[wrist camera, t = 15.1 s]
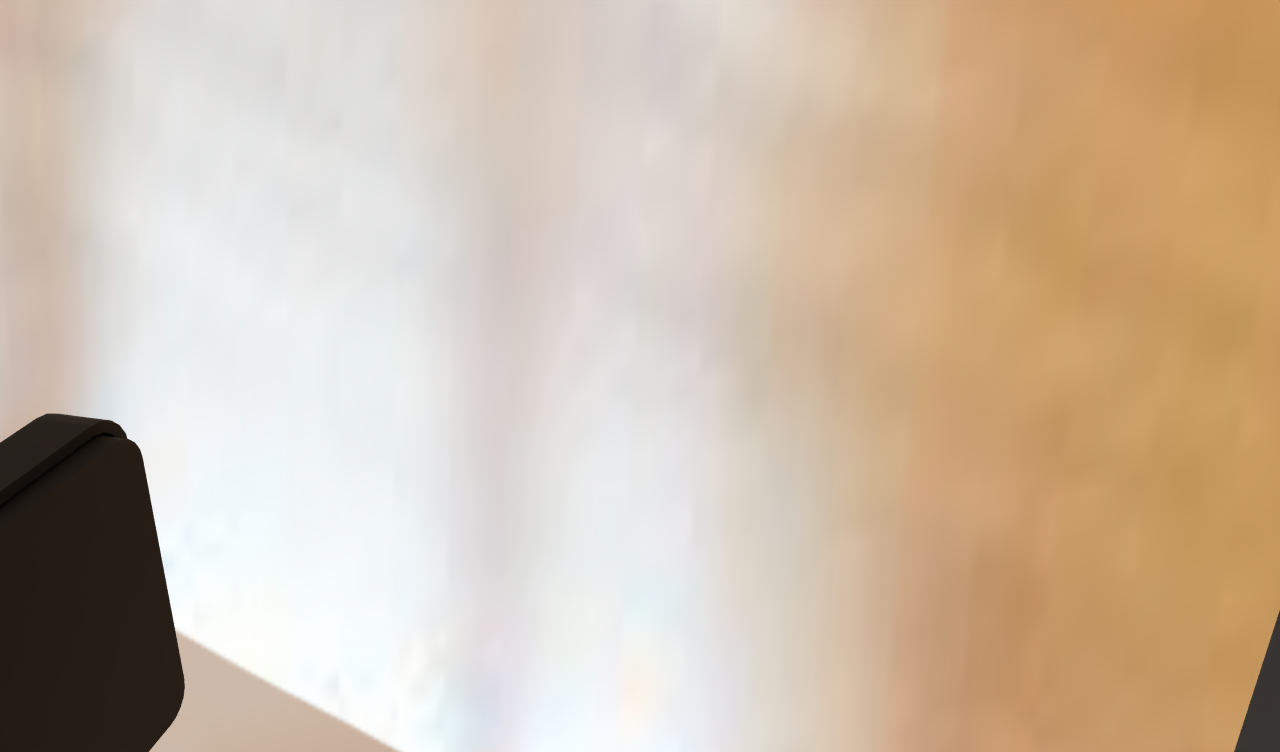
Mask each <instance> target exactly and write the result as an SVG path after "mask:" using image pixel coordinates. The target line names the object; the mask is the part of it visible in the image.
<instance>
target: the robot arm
mask: <svg viewBox="0 0 1280 752" xmlns="http://www.w3.org/2000/svg"><path fill="white" fill-rule="evenodd" d="M184 689H185V684H184V675H183V670H182V665H181V659H180V654H179V649H178V643H177V638H176V632H175V627H174V622H173V616H172V611H171V606H170V600H169V595H168V590H167V585H166V579H165V574H164V569H163V563H162V558H161V553H160V547H159V542H158V537H157V531H156V526H155V521H154V515H153V510H152V505H151V499H150V494H149V489H148V484H147V478H146V473H145V468H144V462H143V457H142V454H141V451H140V449H139V447H138V446H137V445H136V443H135V442H133V441H131V440H129V439H127V436H126V433H125V432H124V431H123V429H122V428H121V427H120V425H118V424H116V423H115V422H113V421H110V420H103V419H95V418H87V417H79V416H72V415H64V414H45V415H43V416H41V417H39V418H36V419H35V420H33V421H32V422H30V423H29V424H28V425H26V426H25V427H23V428H22V429H20V430H19V431H17V432H16V433H14V434H13V435H11V436H10V437H8V438H7V439H5V440H4V441H2V442H1V443H0V752H149V751H150V749H151V748H152V747H153V746H154V745H155V743H156V742H157V741H158V740H159V738H160V737H161V736H162V735H163V734H164V733H165V731H166V730H167V729H168V728H169V727H170V725H171V724H172V722H173V721H174V719H175V718H176V716H177V714H178V712H179V710H180V707H181V704H182V700H183V696H184ZM1234 752H1280V612H1279V615H1278V618H1277V621H1276V624H1275V627H1274V630H1273V633H1272V636H1271V639H1270V643H1269V646H1268V649H1267V652H1266V655H1265V658H1264V661H1263V664H1262V667H1261V670H1260V673H1259V677H1258V680H1257V683H1256V686H1255V689H1254V692H1253V695H1252V698H1251V701H1250V704H1249V708H1248V711H1247V714H1246V717H1245V720H1244V723H1243V726H1242V729H1241V732H1240V735H1239V739H1238V742H1237V745H1236V748H1235V751H1234Z"/></svg>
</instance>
